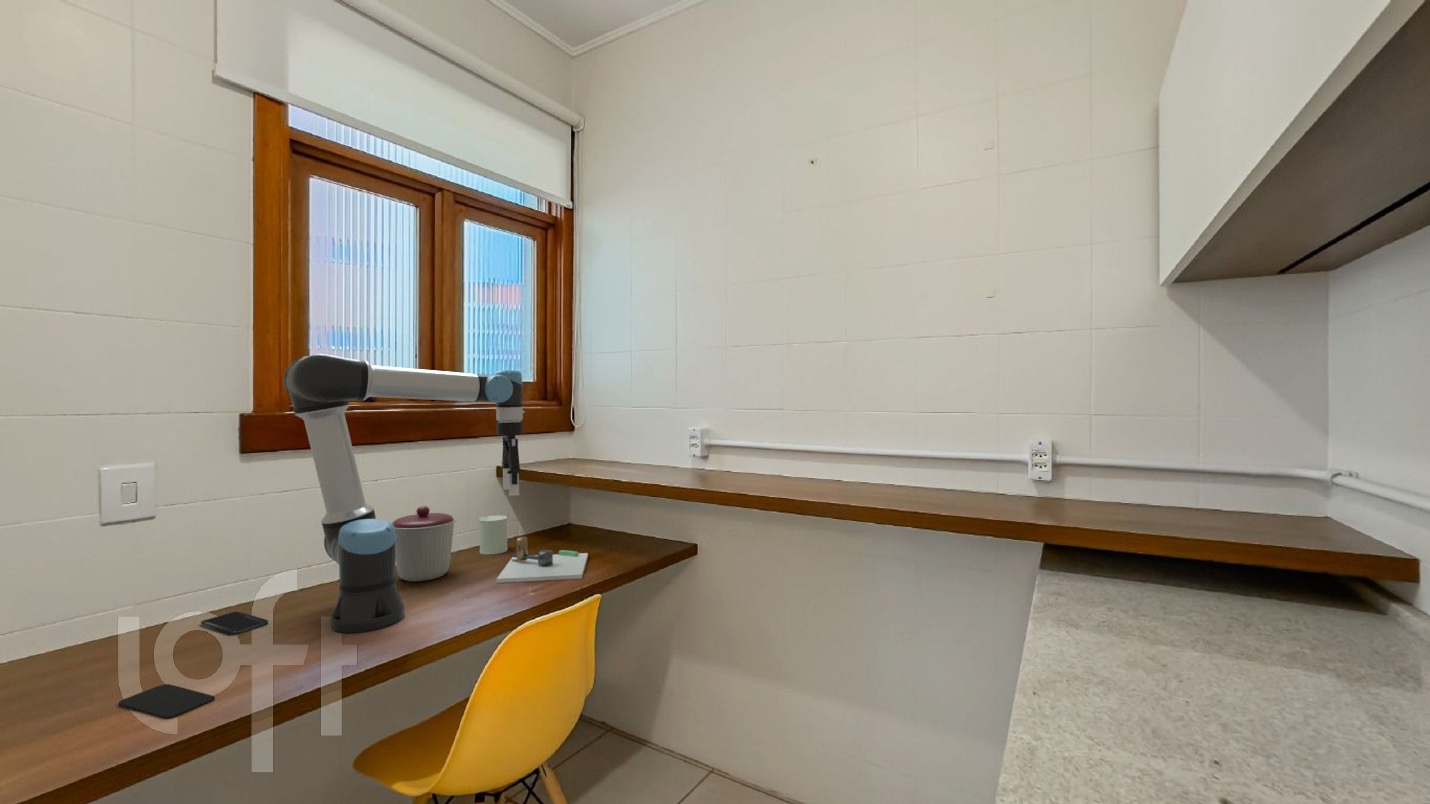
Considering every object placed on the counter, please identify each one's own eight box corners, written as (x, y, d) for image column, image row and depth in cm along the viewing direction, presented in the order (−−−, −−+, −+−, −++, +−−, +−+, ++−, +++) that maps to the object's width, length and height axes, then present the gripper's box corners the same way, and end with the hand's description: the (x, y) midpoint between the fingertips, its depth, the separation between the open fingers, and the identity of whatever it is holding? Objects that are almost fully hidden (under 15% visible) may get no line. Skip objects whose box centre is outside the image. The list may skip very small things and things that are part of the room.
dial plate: (496, 582, 170) (496, 574, 170) (513, 559, 195) (513, 552, 195) (581, 578, 174) (581, 570, 174) (588, 556, 198) (587, 548, 198)
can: (478, 549, 208) (478, 515, 208) (506, 546, 212) (505, 513, 212) (480, 555, 200) (479, 520, 199) (509, 552, 204) (508, 517, 203)
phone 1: (168, 718, 99) (114, 702, 104) (168, 723, 99) (114, 707, 104) (218, 696, 106) (166, 682, 111) (218, 701, 106) (166, 687, 111)
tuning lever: (555, 562, 185) (555, 539, 185) (546, 566, 181) (546, 542, 181) (519, 558, 190) (519, 535, 190) (509, 562, 186) (509, 538, 186)
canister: (382, 576, 178) (381, 506, 178) (446, 564, 190) (444, 498, 190) (398, 590, 164) (397, 515, 164) (465, 577, 176) (464, 506, 176)
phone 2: (231, 632, 134) (198, 621, 141) (231, 637, 134) (199, 626, 141) (270, 620, 141) (237, 610, 148) (270, 625, 141) (237, 615, 148)
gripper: (529, 422, 170) (530, 497, 171) (516, 419, 192) (517, 485, 192) (502, 423, 167) (503, 499, 167) (492, 420, 189) (493, 487, 189)
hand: (511, 492), depth 180 cm, fingers open, 12 cm apart
